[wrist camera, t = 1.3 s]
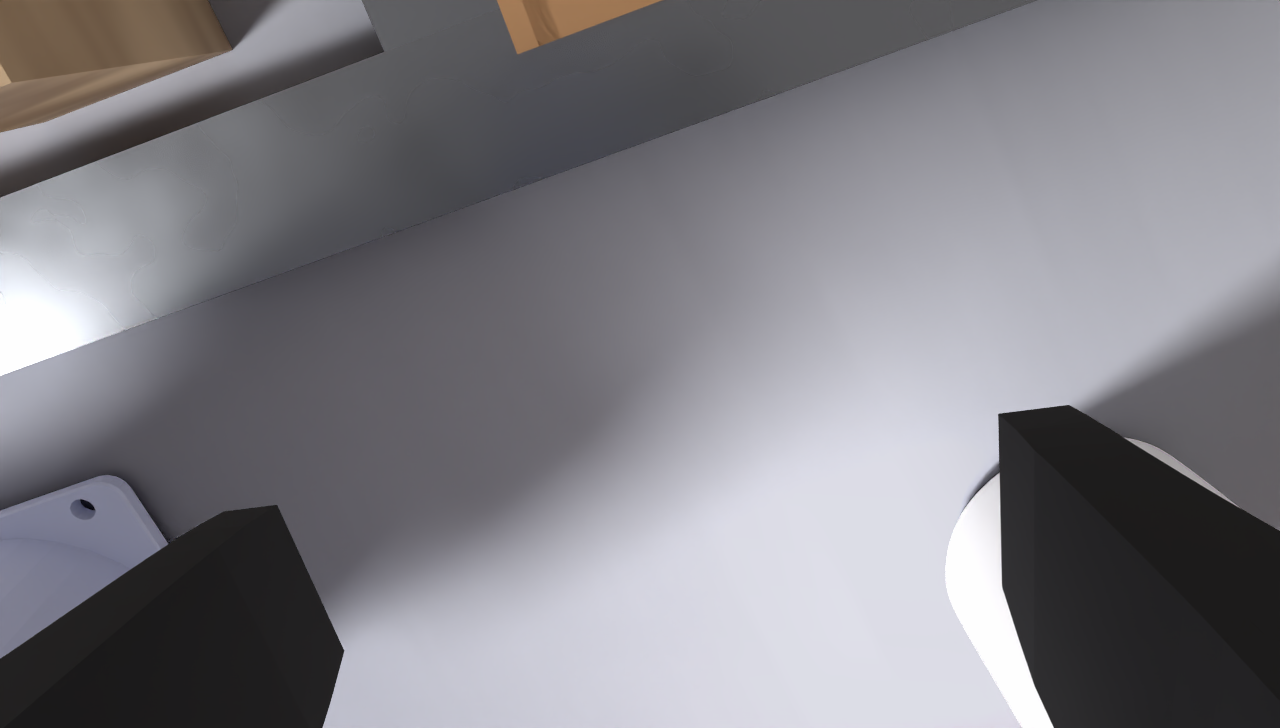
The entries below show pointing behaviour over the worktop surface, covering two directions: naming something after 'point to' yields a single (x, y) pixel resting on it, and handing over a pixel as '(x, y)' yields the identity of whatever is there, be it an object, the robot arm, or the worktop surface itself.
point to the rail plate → (408, 142)
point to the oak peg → (94, 51)
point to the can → (983, 599)
